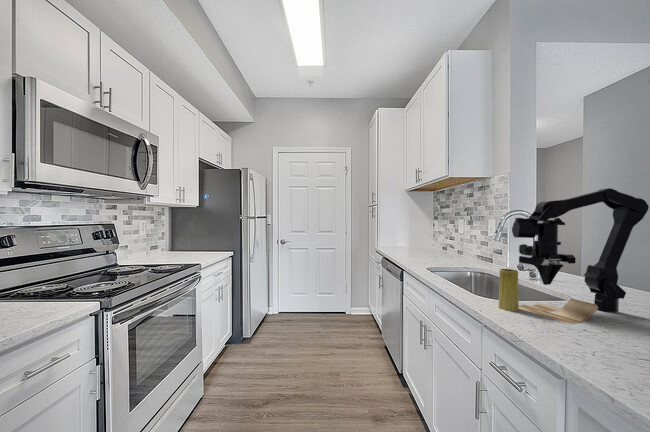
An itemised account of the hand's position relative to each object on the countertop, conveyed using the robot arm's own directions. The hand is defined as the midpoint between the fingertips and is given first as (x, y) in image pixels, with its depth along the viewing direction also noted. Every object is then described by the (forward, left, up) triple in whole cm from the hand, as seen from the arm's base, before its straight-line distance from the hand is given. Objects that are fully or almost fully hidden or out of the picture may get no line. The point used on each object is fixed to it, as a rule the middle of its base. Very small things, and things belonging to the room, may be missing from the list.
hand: (546, 284), depth 113 cm
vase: (+14, -2, -9) cm, 17 cm away
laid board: (+8, +6, -9) cm, 14 cm away
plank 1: (+1, +1, -9) cm, 9 cm away
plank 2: (+1, +11, -6) cm, 13 cm away
